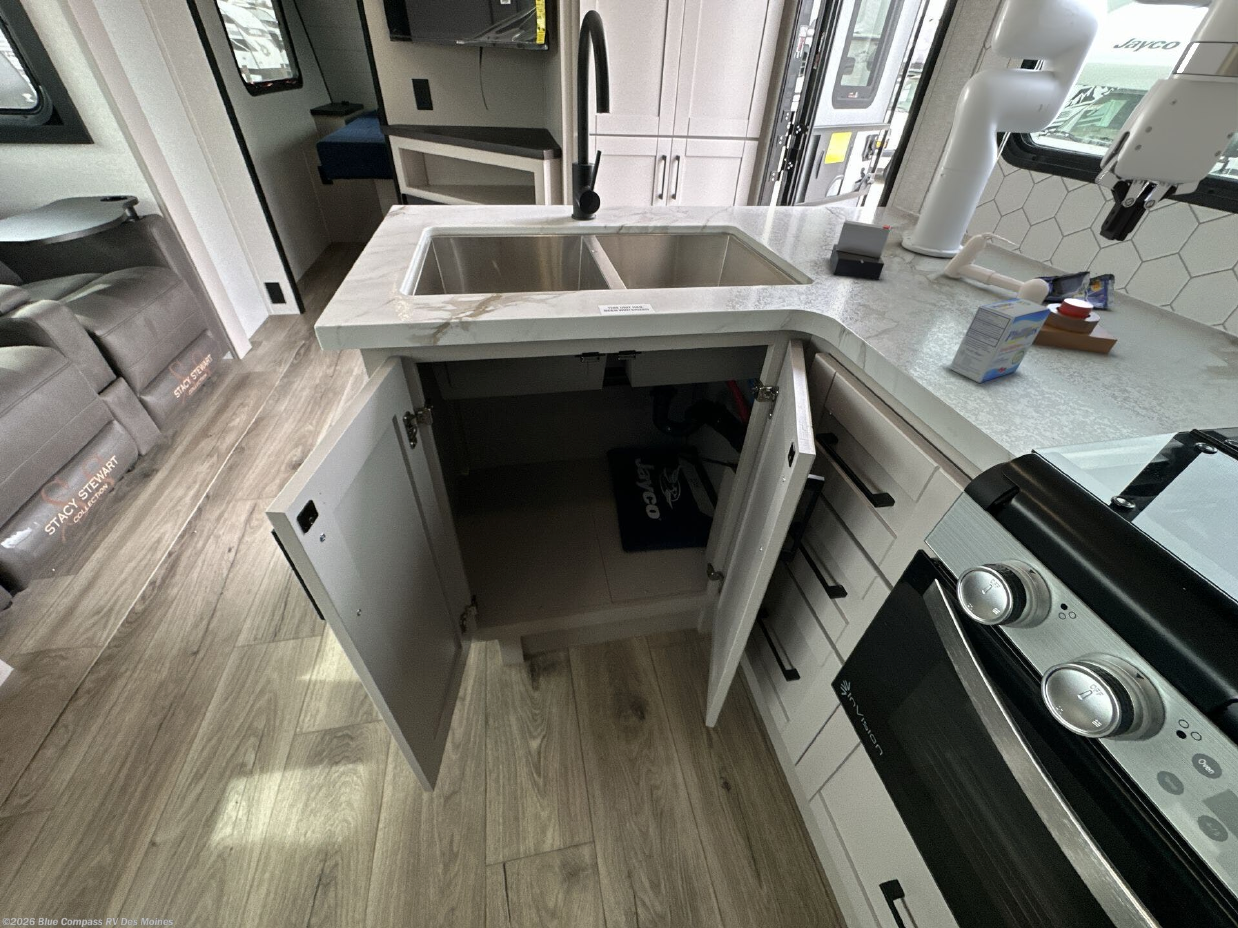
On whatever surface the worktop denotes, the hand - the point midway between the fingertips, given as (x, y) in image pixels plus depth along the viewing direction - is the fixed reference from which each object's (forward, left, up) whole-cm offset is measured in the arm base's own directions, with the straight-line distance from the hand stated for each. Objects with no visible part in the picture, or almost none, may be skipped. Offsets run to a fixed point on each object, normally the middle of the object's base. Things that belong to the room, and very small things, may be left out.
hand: (1111, 237), depth 69 cm
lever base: (-22, -27, -14) cm, 37 cm away
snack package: (-18, +8, -14) cm, 24 cm away
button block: (+1, 0, -14) cm, 14 cm away
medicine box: (+17, -15, -14) cm, 26 cm away
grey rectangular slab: (-22, -27, -11) cm, 36 cm away
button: (+1, 0, -10) cm, 10 cm away
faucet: (-19, -3, -14) cm, 24 cm away
